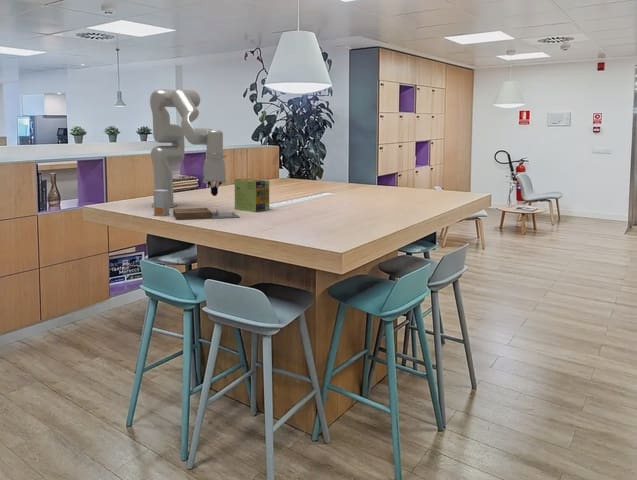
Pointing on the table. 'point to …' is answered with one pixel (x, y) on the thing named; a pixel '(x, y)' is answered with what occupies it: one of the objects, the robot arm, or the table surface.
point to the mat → (215, 216)
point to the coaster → (223, 212)
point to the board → (192, 213)
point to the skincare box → (161, 202)
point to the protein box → (252, 194)
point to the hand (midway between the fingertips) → (214, 195)
